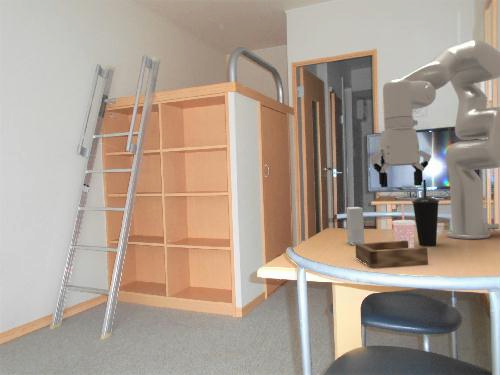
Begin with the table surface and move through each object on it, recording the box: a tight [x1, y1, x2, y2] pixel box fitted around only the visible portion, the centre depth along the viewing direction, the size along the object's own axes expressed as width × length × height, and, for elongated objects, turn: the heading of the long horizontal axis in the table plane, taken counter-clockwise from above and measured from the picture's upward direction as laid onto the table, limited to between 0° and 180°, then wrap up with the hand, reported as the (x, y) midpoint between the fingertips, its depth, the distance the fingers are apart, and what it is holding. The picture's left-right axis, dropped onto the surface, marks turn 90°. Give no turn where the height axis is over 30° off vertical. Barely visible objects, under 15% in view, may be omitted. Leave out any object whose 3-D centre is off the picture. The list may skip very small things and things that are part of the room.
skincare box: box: [345, 206, 366, 246], centre depth 129 cm, size 6×4×12 cm
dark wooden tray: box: [354, 240, 429, 269], centre depth 102 cm, size 14×12×4 cm
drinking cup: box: [411, 179, 440, 247], centre depth 120 cm, size 8×8×20 cm
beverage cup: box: [391, 202, 416, 248], centre depth 111 cm, size 6×6×14 cm
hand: (401, 186), depth 110 cm, fingers open, 9 cm apart
